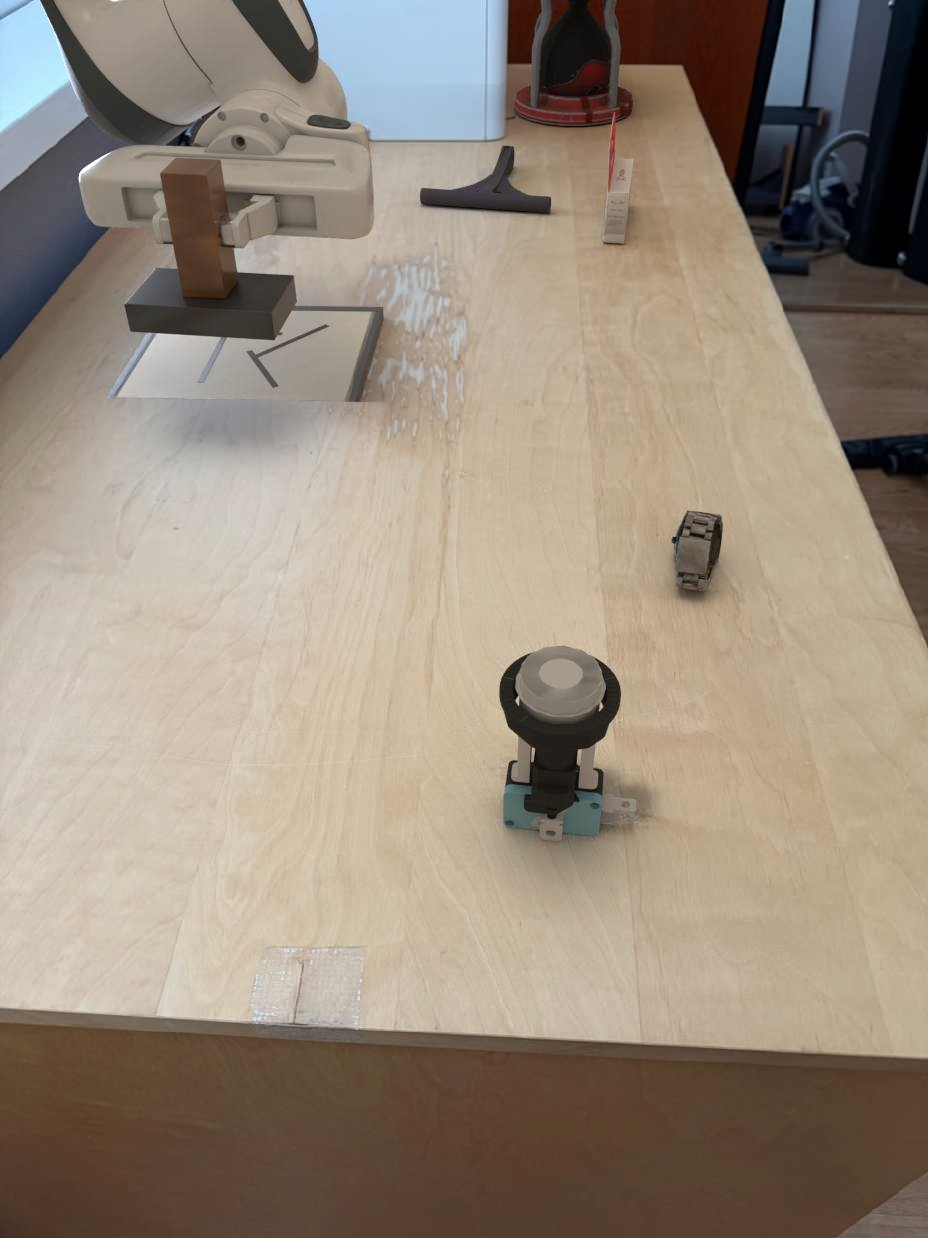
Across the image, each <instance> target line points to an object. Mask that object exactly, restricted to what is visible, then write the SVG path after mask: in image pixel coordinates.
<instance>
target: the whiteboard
mask: <svg viewBox="0 0 928 1238" xmlns="http://www.w3.org/2000/svg"><path fill="white" fill-rule="evenodd" d="M383 320H384V307H383V306H350V305H349V306H347V305H346V306H343V305H339V306H338V305H295V306H294V308H293V310H292V311H291V313H290V315H289V317H288V318H287V320H286V322H285V323H284V325H283V327H282V329H281V330H280V332H279V334H278V335H277V337H276V339H275V340H259V339H243V338H226V337H210V336H193V335H177V334H160V333H145V336H144V337H143V338H142V340H141V342H139V345H138V346H137V348H136V349H135V351H134V352H133V354H132V355H131V356H130V358H129V360H128V362H126V364H125V367H124V368H123V369H122V371H121V372H120V374H119V375H118V377H117V379H116V380H115V381H114V383H113V385H112V386H111V387H110V389H109V391H108V392H107V394H106V396H105V398H128V399H129V398H130V399H131V398H133V399H179V400H181V399H183V400H232V401H234V400H235V401H238V400H239V401H283V402H285V401H287V402H290V401H291V402H331V403H332V402H336V403H337V402H339V403H343V402H344V403H361V400H362V399H361V398H362V395H363V392H364V388H365V384H366V381H367V378H368V373H369V370H370V366H371V363H372V359H373V357H374V353H375V349H376V345H377V342H378V339H379V334H380V330H381V327H382V323H383Z"/></svg>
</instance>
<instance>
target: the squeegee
mask: <svg viewBox="0 0 928 1238" xmlns="http://www.w3.org/2000/svg"><path fill="white" fill-rule="evenodd" d="M515 153H516V152H515V147H514V146H513V145H501V148H500V152H499V155H498V158H497V161H496V163H495V166H494V168H493V170H492V173H490V174H489V175H488V176H487V177H484V178H483V179H481V180H479V181H477V182H475V183H473V184H469V185H465V186H462V187H461V186H460V187H458V188H452V189H446V188H444V189H443V188H431V187H421V188H420V191H419V202H420V204H421V205H432V206H434V205H435V206H449V207H460V208H461V207H462V208H476V209H487V210H488V209H490V210H504V211H514V212H515V211H516V212H530V213H531V212H532V213H544V214H550V213H551V210H552V209H551V208H552V196H547V195H532V194H531V195H530V194H527V193H525V192H522V191H521V190H519V189H517V188H516V187H514V186H513V185H512V184H511V182H510V181H509V177H510V175H511V173H512V171H513V169H514V165H515V155H516V154H515Z"/></svg>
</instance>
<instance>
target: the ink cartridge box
mask: <svg viewBox="0 0 928 1238" xmlns="http://www.w3.org/2000/svg"><path fill="white" fill-rule="evenodd" d="M616 122H617V121H615V112H614V115H613V121H612V122H611V127H610V136H609V141H608V156H607V158H608V159H607V193H606V201H605V202H606V204H605V213H604V223H603V232H602V233H603V234H602V242H603V243H604V244H619V245H624V244H625V240H626V234H627V227H628V226H627V225H628V219H629V210H630V201H631V191H632V185H633V184H632V182H633V173H634V163H635V160H634V158H616V154H615V153H616Z"/></svg>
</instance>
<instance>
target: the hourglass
mask: <svg viewBox="0 0 928 1238" xmlns="http://www.w3.org/2000/svg"><path fill="white" fill-rule="evenodd" d="M590 1H591V0H566V2H568V4H567V6H568V7H567V9H566V10H565V11H564V13H562V15H561V16H560V17H559V18H558V19H557V20H556V21H555V23H554V24H553V25H552V26H551V22H552V19H553V13H554V9H553V7H554V3H555V0H540V5H541V12H540V14H539V16H538V17H537V19H536V22H535V27H534V36H533V37H534V38H533V41H532V46H531V71H530V85H528V86H525V87H522V88H521V89H520V90H518V91H517V92H515V94H514V100H513V101H514V103H513V107H514V108H513V111H514V112H515V113H516V114H517V115H518V116H519V117H522V118H524V119H526V120H528V121H531V122H535V123H540V124H543V125H551V126H561V127H562V126H563V127H586V126H588V127H589V126H598V125H604V124H608V123H612V121H613V115H614V112H615V122H617V121H620V120H622V119H624V118H627V117H628V116H629V115H630V114H631V113H632V112H633V104H634V98H633V94H632V93H631V92H630V91H629V90H627V89H626V88H623V87H621V86H619V76H620V63H621V52H622V47H621V39H620V34H619V32H620V29H619V28H620V27H619V21H618V18H617V15H616V14H615V11H616V6H617V0H602V10H603V11H602V15H603V23H604V27H603V26H602V24H601V23H600V22H599V20H598V19H597V18H596V17H595V15H594V14H593V13H592V12H591V10H590V9H589V2H590Z"/></svg>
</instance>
